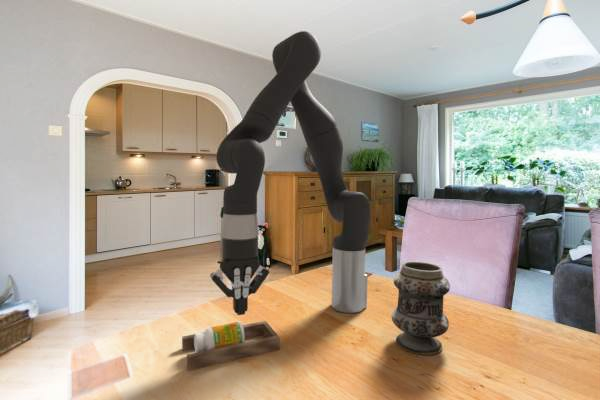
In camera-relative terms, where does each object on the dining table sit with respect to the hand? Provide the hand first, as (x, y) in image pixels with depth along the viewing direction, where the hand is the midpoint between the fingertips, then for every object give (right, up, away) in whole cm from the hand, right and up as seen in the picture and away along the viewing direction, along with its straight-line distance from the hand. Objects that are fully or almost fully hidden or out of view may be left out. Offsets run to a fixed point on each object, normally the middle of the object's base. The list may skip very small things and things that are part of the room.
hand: (240, 313), depth 71 cm
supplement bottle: (0, -5, +1) cm, 5 cm away
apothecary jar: (+40, -8, +3) cm, 41 cm away
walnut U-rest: (-2, -8, 0) cm, 8 cm away
